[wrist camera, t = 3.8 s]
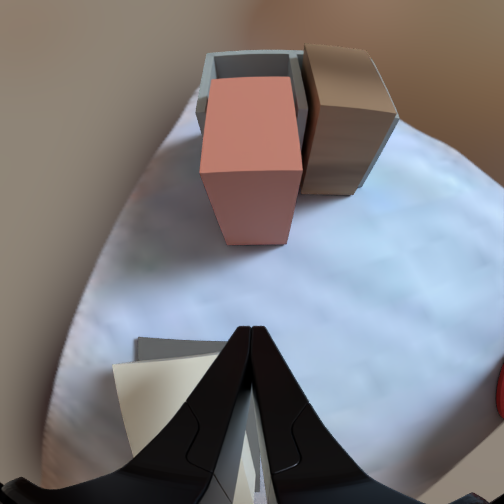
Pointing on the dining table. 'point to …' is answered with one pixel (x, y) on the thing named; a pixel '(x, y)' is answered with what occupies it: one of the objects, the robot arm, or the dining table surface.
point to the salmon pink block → (252, 158)
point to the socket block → (266, 66)
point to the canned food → (500, 393)
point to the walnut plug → (341, 118)
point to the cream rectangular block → (168, 405)
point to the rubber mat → (181, 348)
